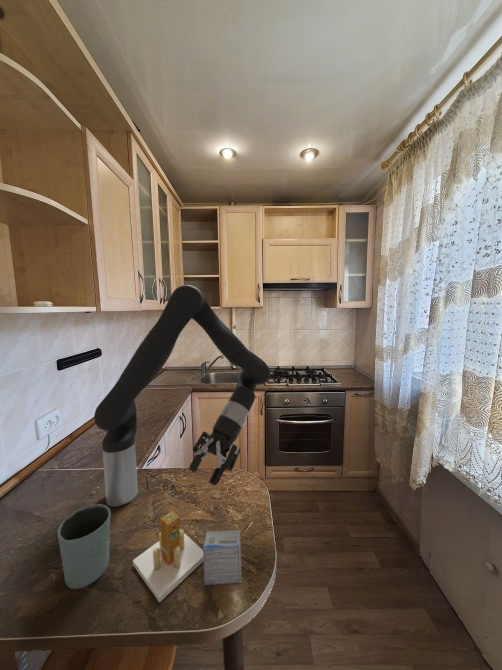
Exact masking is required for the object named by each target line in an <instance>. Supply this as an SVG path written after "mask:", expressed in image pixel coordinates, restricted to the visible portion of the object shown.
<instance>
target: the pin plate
mask: <svg viewBox="0 0 502 670" xmlns="http://www.w3.org/2000/svg"><path fill="white" fill-rule="evenodd" d="M158 539H159V540H158V541H157V542H156V543H154V544H153V545H151V546H150V547H149V548H148V549H146V550H145V551H143V552H142V553H141V554H139V555H138V556H137V557H136V558H134V559H133V560H132V566H133V567H134V569H135V570H136V571H137V573H138V575H139V576H140V577H141V579H142V580H143V581H144V583H145V584H146V586H147V587H148V589H149V590H150V591H151V593H152V594H153V596H155V599H156V600H157V601H158V602H159V603H161V602H162V601H163V600H164V599H165V598H166V597H167V596H169V594H170V593H171V592H172V591H174V590H175V589H176V588H177V587H178V586H179V585H180V584H181V583H182V582H183V581H184V580H185V579H186V578H187V577H188V576H189V575H191V573H193V572H194V571H196V569H197V568H198V567H199V566H200V565H201V564H202V563H204V559H203V548H201V547H200V546H199V545H198V544H197V543H196V542H195V541H193V540H192V538H191V537H189V536H188V535H187V534H186V533H185V530H184V529H181V528H180V547H179V546H176V547H175V548H174V549H173V551H174V562H172V563H171V564H170V565H168V564H167V563H166V562H165V561H164V560H163V558H162V557H161V531H160V532H159V533H158Z"/></svg>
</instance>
